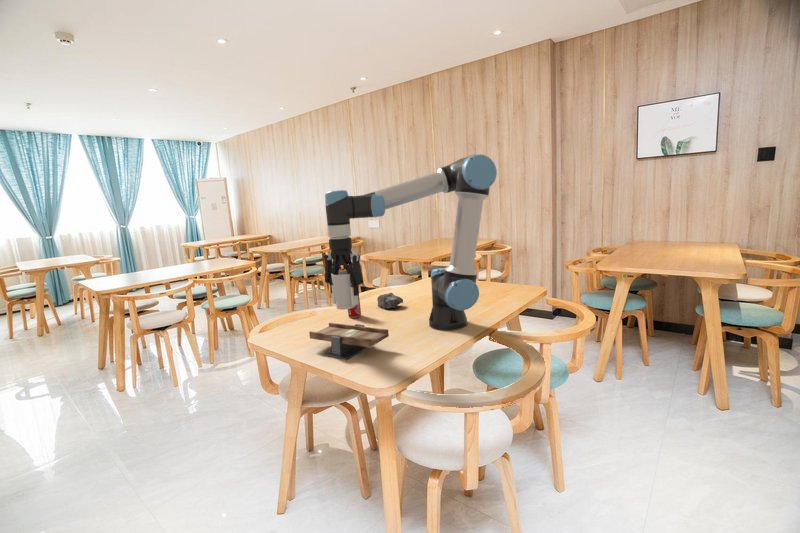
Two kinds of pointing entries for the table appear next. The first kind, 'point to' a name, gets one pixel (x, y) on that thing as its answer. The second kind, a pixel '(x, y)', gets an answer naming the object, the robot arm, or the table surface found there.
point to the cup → (342, 290)
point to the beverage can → (355, 310)
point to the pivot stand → (343, 348)
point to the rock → (388, 301)
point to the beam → (351, 334)
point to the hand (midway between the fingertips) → (345, 303)
